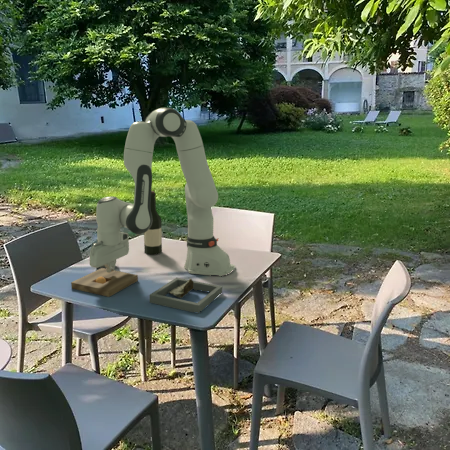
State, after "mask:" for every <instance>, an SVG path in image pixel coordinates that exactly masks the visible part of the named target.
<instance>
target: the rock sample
mask: <svg viewBox="0 0 450 450" xmlns="http://www.w3.org/2000/svg"><path fill="white" fill-rule="evenodd" d="M187 280H188V282H186V283H185V284H183V285H181V286H179V287H177V288H175V289H173V290H172V291H170V292H169V293H168V294H169V295H171V296H175V297H176V298H177V299H183V298H184V297H185V296H187V295H188V294H189V293H190V292H191V291H192V289H193V287H194V286H193V285H194V283H193V281H194V280H193V279H192V278H188V279H187Z"/></svg>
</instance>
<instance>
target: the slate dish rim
mask: <svg viewBox="0 0 450 450" xmlns="http://www.w3.org/2000/svg"><path fill="white" fill-rule="evenodd" d="M188 280H189V279H186V278H179V277H175V278H173V279H171V281H169V282H167V283H165V284H164V285H162V286H161V287H159V288H158V289H156V290H155V291H153V292H152V293H150V294H149V295H148V296H149V303H150V304H155V305H158V306H164V307H168V308H173V309H177V310H181V311H186V312H190V313H194V312H198V313H199V312H200V311H201V312H203V311H204V310H205V309H206V308H207V307H208V306H210V305H211V304H212V303H213V302H214V301H215V300H216V299H215V298H216V297H217V296H218V295H219V294H221V293H222V294H223V286H222V285H218V284H211V283H206V282H201V281H197V280H193V283H194V285H193V286H194V287H193V289H194V290H193V291H197V290H202V291H209V292H210V293H207V294H206V295H205V296H204V297H203V298H201V299H200V300H199V301H198V302H194V301H188V300H184V299H182V298H177V297H176V298H175V297H171V296H167V295H168V294H169V292H170V291H172V290H173V289H175V288H177V287H179V286H181V285H183V284H185V283H186V282H188ZM202 291H201V292H202ZM222 294H221V295H222ZM214 299H215V300H214ZM213 300H214V301H213ZM212 301H213V302H212ZM211 302H212V303H211ZM210 303H211V304H210ZM209 304H210V305H209ZM207 305H208V306H207ZM206 306H207V307H206ZM205 307H206V308H205ZM204 308H205V309H204ZM203 309H204V310H203ZM202 310H203V311H202ZM201 312H200V313H201ZM198 313H197V314H198ZM200 313H199V314H200Z"/></svg>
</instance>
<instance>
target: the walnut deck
mask: <svg viewBox="0 0 450 450" xmlns="http://www.w3.org/2000/svg"><path fill="white" fill-rule="evenodd" d="M98 277H104V278H105V279H106V283H104V284H101V283H97V282H96V279H97V278H98ZM138 281H139V276H138V274H135V273H131V272H130V273H129V272H124V271H119V270H116V269H115V270H114V271H112V272H110V273H108V272H107V271H106V267H105V268H98V269H97V270H95V271H92V272H90V273H89V274H85V275H84V276H82V277H80V278H77V279H75V280H73V281H72V282H71V283H70V284H71V289H72V290H78V291H82V292H86V293H89V294H95V295H99V296H104V297H107V298H110V297H112V296H113V295H115V294H117V293H119V292H120V291H123V290H125V289H126V288H128V287H129V286H131V285H133V284H135V283H136V282H138Z"/></svg>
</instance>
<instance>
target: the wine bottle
mask: <svg viewBox="0 0 450 450" xmlns="http://www.w3.org/2000/svg"><path fill="white" fill-rule="evenodd" d="M156 197H157V196H156V192H155V190H151V213H152V218H153V221H152V225H151V227H150V228H149V230H148V231H146V232H145V233H143V234H144V235H143V241H144V243H143V244H144V246H143V247H144V249H143V250H144V254H146V255H147V256H148V255H149V256H156V255H160V254H162V253H163V245H162V244H163V238H162V237H163V235H162V218H161V215H159V213H158V211H157V205H156V204H157V202H156V201H157V200H156Z"/></svg>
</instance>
